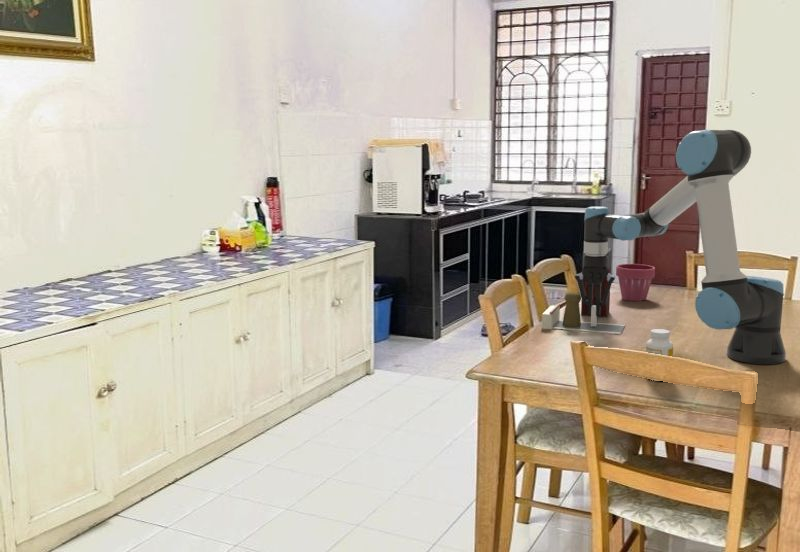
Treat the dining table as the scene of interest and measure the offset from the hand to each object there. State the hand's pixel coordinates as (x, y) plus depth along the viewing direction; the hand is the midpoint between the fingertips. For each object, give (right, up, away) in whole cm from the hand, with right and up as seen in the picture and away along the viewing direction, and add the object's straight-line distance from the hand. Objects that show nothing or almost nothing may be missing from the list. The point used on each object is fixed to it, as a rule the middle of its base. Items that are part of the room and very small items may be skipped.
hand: (593, 325), depth 260 cm
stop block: (-13, 0, +6) cm, 14 cm away
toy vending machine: (+5, +2, +20) cm, 21 cm away
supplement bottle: (+4, -11, -54) cm, 55 cm away
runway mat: (-1, -1, +1) cm, 2 cm away
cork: (-7, 0, +3) cm, 7 cm away
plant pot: (+27, +7, +45) cm, 53 cm away
